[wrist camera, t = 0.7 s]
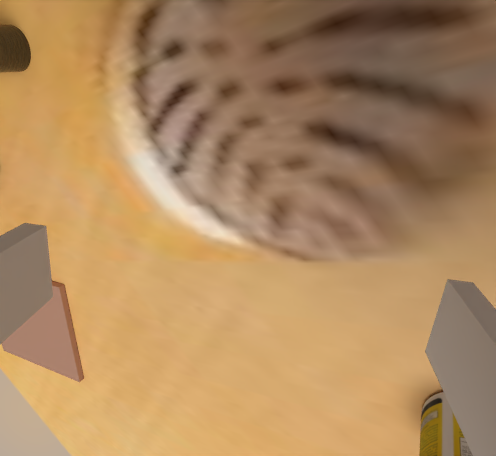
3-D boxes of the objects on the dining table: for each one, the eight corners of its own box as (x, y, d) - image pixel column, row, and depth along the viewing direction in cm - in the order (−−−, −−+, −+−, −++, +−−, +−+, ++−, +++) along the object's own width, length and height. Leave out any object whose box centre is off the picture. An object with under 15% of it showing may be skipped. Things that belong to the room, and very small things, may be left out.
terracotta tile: (-18, 259, 43) (-24, 262, 43) (64, 284, 39) (59, 287, 38) (8, 347, 48) (3, 350, 48) (83, 378, 44) (79, 382, 43)
